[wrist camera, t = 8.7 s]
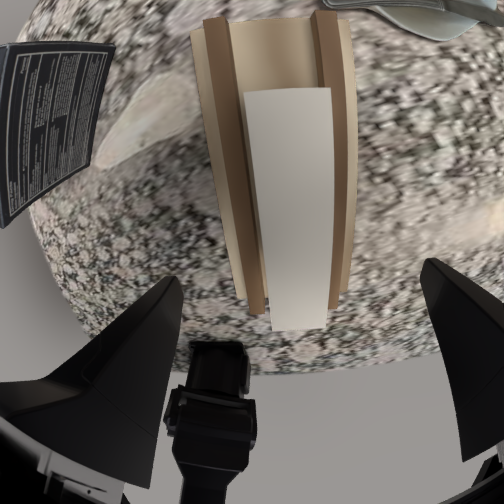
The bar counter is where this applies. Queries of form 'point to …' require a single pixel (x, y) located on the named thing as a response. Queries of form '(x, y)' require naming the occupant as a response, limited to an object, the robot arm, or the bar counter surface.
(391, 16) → the salad plate
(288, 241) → the door panel
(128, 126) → the bar counter surface
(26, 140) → the small box
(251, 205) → the floor track
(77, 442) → the robot arm
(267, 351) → the bar counter surface
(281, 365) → the bar counter surface
